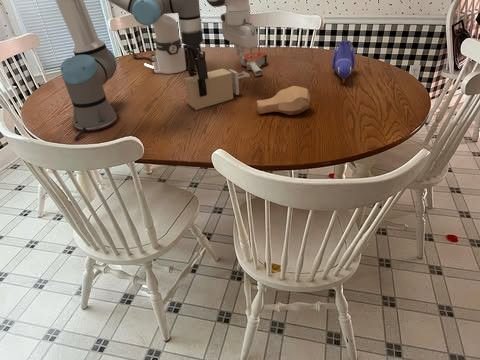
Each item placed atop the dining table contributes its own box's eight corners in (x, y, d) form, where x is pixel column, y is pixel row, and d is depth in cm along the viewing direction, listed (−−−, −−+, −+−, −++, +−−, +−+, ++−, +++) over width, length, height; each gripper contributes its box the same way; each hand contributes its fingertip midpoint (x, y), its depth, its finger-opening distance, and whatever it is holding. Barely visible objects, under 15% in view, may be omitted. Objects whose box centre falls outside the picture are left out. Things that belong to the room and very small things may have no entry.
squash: (314, 116, 128) (313, 95, 122) (259, 125, 130) (256, 105, 124) (308, 99, 136) (307, 78, 129) (257, 108, 138) (253, 88, 131)
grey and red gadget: (258, 80, 163) (278, 64, 175) (258, 69, 159) (279, 54, 172) (226, 73, 170) (248, 58, 183) (226, 62, 167) (248, 48, 179)
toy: (330, 77, 169) (331, 86, 146) (332, 39, 162) (333, 43, 140) (352, 76, 166) (356, 85, 144) (355, 38, 160) (360, 41, 137)
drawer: (244, 86, 152) (243, 66, 146) (251, 90, 148) (250, 69, 143) (198, 99, 143) (195, 78, 138) (204, 104, 139) (202, 82, 134)
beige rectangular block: (225, 93, 149) (223, 68, 143) (233, 98, 144) (231, 72, 138) (188, 104, 142) (184, 78, 136) (195, 109, 138) (192, 83, 131)
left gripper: (213, 34, 120) (219, 98, 133) (189, 24, 133) (196, 83, 147) (193, 38, 117) (201, 103, 130) (170, 27, 130) (180, 87, 144)
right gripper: (261, 21, 126) (261, 60, 134) (232, 12, 140) (234, 48, 149) (246, 24, 123) (247, 63, 132) (218, 14, 138) (221, 51, 146)
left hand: (199, 92), depth 139 cm, fingers closed on beige rectangular block, 7 cm apart
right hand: (240, 55), depth 140 cm, fingers closed
